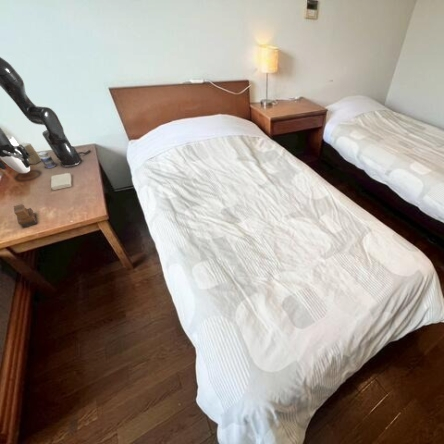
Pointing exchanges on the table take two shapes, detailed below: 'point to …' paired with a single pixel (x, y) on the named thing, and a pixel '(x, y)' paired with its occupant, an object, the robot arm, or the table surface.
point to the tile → (61, 181)
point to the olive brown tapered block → (31, 153)
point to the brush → (24, 215)
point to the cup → (15, 159)
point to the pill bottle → (46, 159)
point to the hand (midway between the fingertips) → (16, 167)
